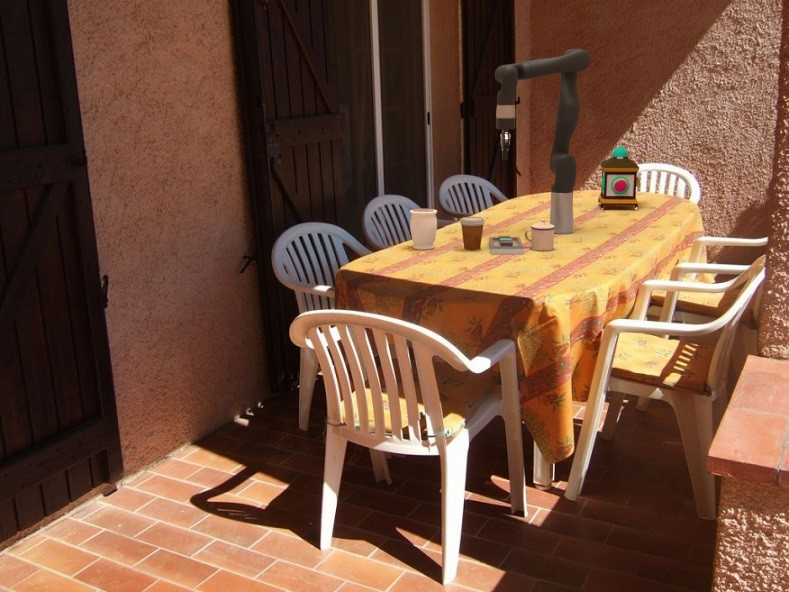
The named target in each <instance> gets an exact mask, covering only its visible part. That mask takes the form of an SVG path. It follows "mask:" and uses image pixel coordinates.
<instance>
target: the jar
mask: <svg viewBox="0 0 789 592" xmlns="http://www.w3.org/2000/svg"><path fill="white" fill-rule="evenodd" d="M409 211H410V212H409V213H410V215H411V216H410V220H409V226H410V227H409V228H410V229H409V230H410V233H411V235H410V236H411V239H412V242H413V245H412V246H413V247H412V248H413V249H414V250H418V251H428V250H433V249H434V248H435V245H434V243H435V241H436V238H437V237H436V236H437V232H438V231H437V230H438V220H437V215H436V214H437V213H438V210H437V209H432V208H415V209H411V210H409Z"/></svg>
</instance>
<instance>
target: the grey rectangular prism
mask: <svg viewBox="0 0 789 592" xmlns="http://www.w3.org/2000/svg"><path fill="white" fill-rule="evenodd" d="M498 237H499V241H500V238H511V237H512V236H511V235H499V236H498Z"/></svg>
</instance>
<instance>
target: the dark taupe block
mask: <svg viewBox="0 0 789 592" xmlns="http://www.w3.org/2000/svg"><path fill="white" fill-rule="evenodd" d="M501 246H513V242H512V241H501Z"/></svg>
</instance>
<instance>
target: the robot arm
mask: <svg viewBox="0 0 789 592" xmlns="http://www.w3.org/2000/svg"><path fill="white" fill-rule="evenodd" d="M591 59H592V58H591V55H590V53H589V52H588V51H586V50H585V49H582V48H570V49H567V50H566V51H564V53H562V56H555V57H547V58H537V59H532V60H526V61H523V62H519V63H511V64H510V63H508V64H502V65H500V66H498V67H497V68H496V70H495V72H494V78H495V80H496V81H497V82H498V83H500V84H501V86H500V90H499V91H498V92H497V95H496V97H497V99H496V112H495V113H496V117H495V123H496V124H495V128H496V129H497V130H501V133H500V135H499V136H500V145H501V147H500V148H501V151H502V152H501V153H502V154H501V155H502V156H501V160H502V161H507V160H509V150H510V144H511V135H512V134H511V133H510V130H513V129H515V128H516V103H515V102H516V95H515V94H516V90H517V86H518V83H519V82H518V81H519V80H521V81H523V80H527V81H528V80H532V79H536V78H541V77H546V76H549V75H554V74H560V84H559V86H560V87H559V91H558V92H559V93H558V103H557V109H556V116H555V118H556V119H555V126H554V128H555V129H554V137H553V144H552V148H551V152H550V157H549V163H548V164H549V169H550V171H551V172H552V173H553V174H554V175H555V177H554V178H555V179H554V182H553V183H552V184H551V186H550V211H549V212H550V213H549V224H552V225H554V227H555V229H554V234H557V235H559V234H562V235H563V234H572V233H574V232H573V231H574V210H573V209H574V207H573V205H574V188H575V185H576V183H577V182H576V181H577V180H576V179H577V160H576V158H575V157H574V156H573V155H571V154H570V145H571V140H572V137H573V135H574V133H575V132H576V129H577V127H578V123H579V120H580V111H581V101H580V95H579V92H578V91H579V90H578V87H577V85H578V76H579V73H582V72H584V71H586V70H587V69H588V68H589V66H590V64H591Z"/></svg>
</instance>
